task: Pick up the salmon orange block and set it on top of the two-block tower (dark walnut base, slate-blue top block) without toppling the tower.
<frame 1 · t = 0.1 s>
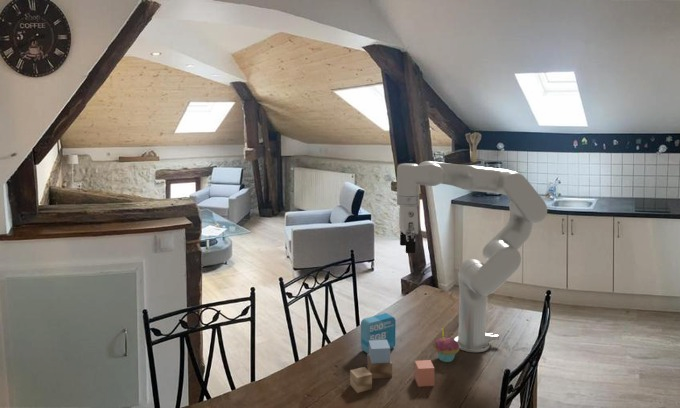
hand: (407, 249, 171), 37 cm above the table, tool pointing down, fingers open, 9 cm apart
cupcake: (445, 359, 170), on the table
salmon orange block: (424, 382, 156), on the table
tower base: (379, 372, 162), on the table
data package: (378, 349, 177), on the table
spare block: (361, 387, 153), on the table
tower top: (379, 358, 161), point 5 cm above the table
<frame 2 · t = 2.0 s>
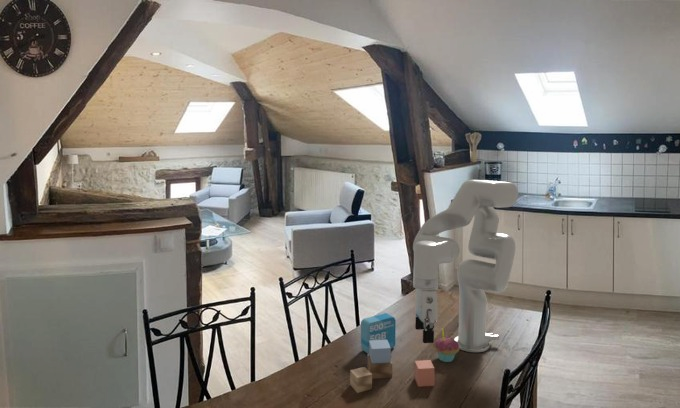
hand: (424, 335, 152), 16 cm above the table, tool pointing down, fingers open, 9 cm apart
tower base: (379, 372, 161), on the table, touching tower top
tower top: (379, 358, 161), point 5 cm above the table, touching tower base
everything else where it was.
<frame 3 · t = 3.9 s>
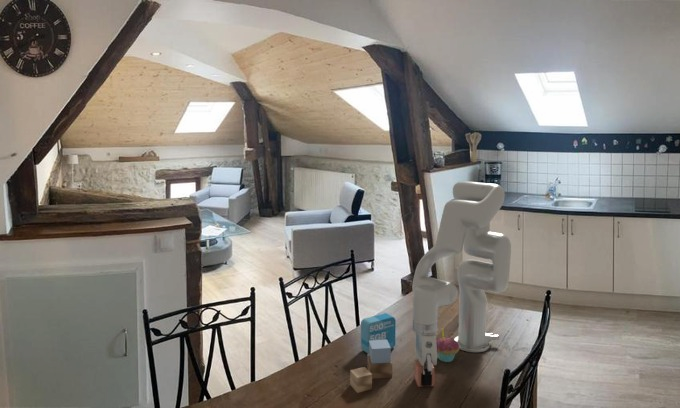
hand: (424, 379, 155), 1 cm above the table, tool pointing down, fingers closed on salmon orange block, 5 cm apart
salmon orange block: (424, 381, 155), on the table, touching gripper
everything else where it was.
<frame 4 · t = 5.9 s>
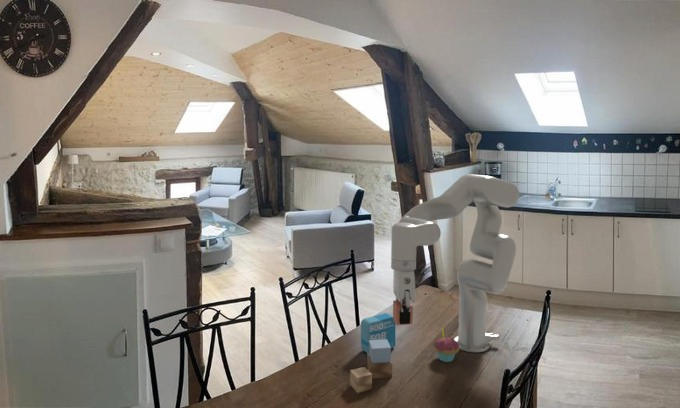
hand: (402, 319, 155), 20 cm above the table, tool pointing down, fingers closed on salmon orange block, 5 cm apart
salmon orange block: (402, 321, 155), point 19 cm above the table, touching gripper
everything else where it was.
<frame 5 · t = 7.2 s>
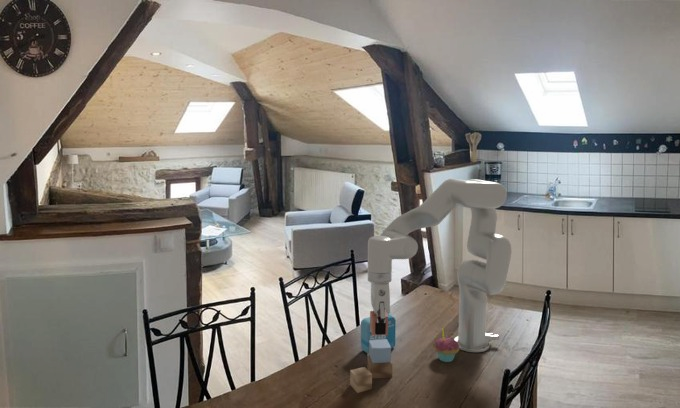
hand: (379, 329, 159), 15 cm above the table, tool pointing down, fingers closed on salmon orange block, 5 cm apart
salmon orange block: (378, 331, 159), point 14 cm above the table, touching gripper
everything else where it was.
when the fingers open (11 cm above the table, at t = 8.2 s): salmon orange block stays where it is, point 10 cm above the table.
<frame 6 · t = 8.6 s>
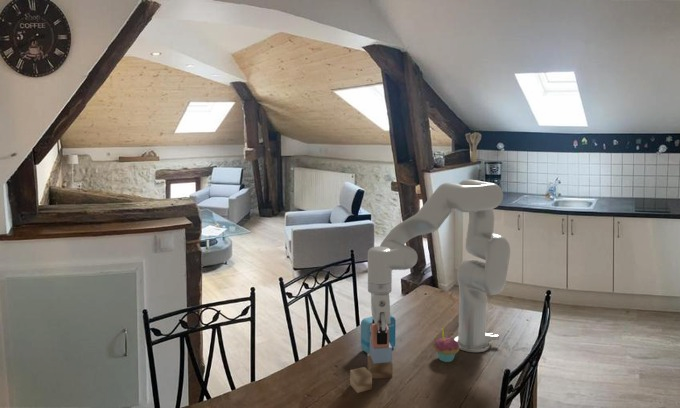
hand: (379, 337, 159), 12 cm above the table, tool pointing down, fingers open, 9 cm apart
salmon orange block: (379, 344, 160), point 10 cm above the table
everything else where it was.
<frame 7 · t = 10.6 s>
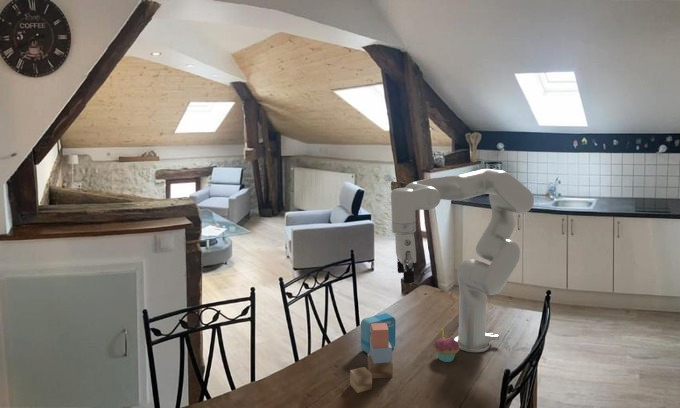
hand: (405, 277, 162), 30 cm above the table, tool pointing down, fingers open, 9 cm apart
salmon orange block: (379, 344, 160), point 10 cm above the table, touching tower top
tower top: (380, 358, 161), point 5 cm above the table, touching salmon orange block, tower base
everything else where it was.
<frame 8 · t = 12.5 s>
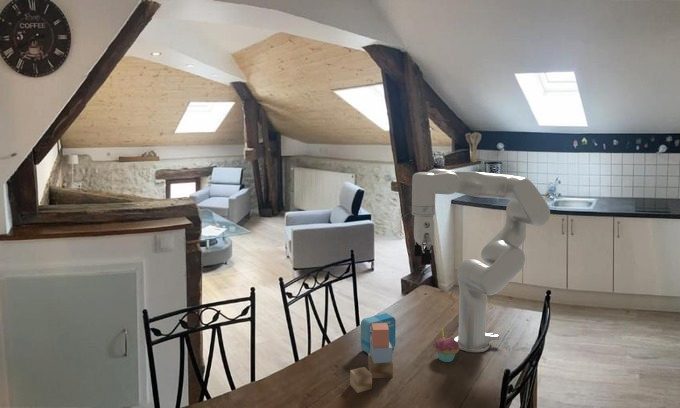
hand: (422, 260, 166), 34 cm above the table, tool pointing down, fingers open, 9 cm apart
nothing on the table moved.
at the end: salmon orange block 0.1 cm off-centre on the tower base, point 10.0 cm above the tower base's base; salmon orange block tilted 0°; tower top 0.3 cm off-centre on the tower base, point 5.0 cm above the tower base's base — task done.
